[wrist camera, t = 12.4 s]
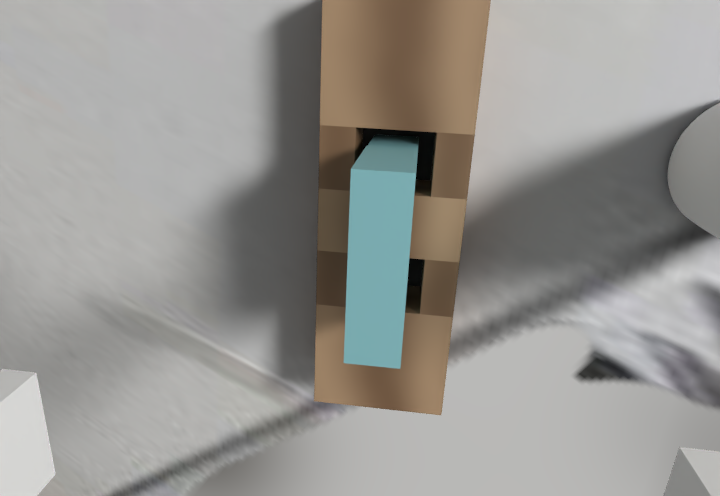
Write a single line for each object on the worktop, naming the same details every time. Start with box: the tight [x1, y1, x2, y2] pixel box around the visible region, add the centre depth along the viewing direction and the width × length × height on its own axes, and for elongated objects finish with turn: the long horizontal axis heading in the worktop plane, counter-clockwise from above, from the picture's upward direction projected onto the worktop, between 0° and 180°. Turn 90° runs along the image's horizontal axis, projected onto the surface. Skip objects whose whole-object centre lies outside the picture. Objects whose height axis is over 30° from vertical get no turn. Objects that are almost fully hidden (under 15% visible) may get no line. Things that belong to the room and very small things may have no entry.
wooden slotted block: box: [314, 0, 491, 415], centre depth 31 cm, size 8×24×4 cm, turn 177°
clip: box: [344, 134, 419, 369], centre depth 28 cm, size 3×9×11 cm, turn 178°
